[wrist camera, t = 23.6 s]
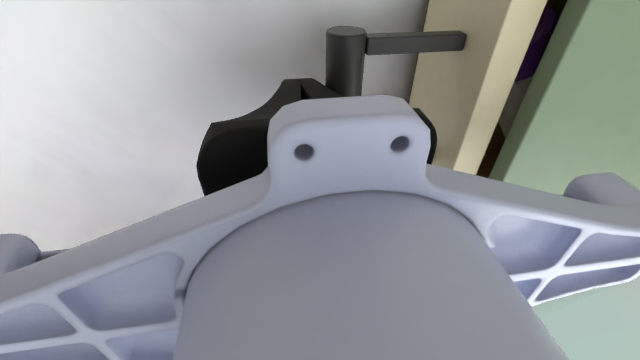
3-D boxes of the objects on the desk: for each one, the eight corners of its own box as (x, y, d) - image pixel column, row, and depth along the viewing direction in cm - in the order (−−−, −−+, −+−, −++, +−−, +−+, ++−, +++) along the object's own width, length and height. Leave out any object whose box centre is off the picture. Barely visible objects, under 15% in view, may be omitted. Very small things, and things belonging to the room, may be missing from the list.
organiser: (413, 168, 21) (467, 252, 15) (479, -107, 12) (658, -138, 7) (598, 151, 22) (707, 222, 17) (774, -103, 14) (1114, -126, 8)
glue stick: (576, 121, 16) (585, 166, 15) (511, 134, 18) (513, 175, 17) (552, -9, 12) (560, 36, 10) (470, 27, 14) (467, 69, 12)
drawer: (315, 178, 19) (330, 246, 15) (312, -89, 11) (341, -101, 7) (578, 154, 21) (655, 208, 17) (734, -86, 13) (948, -94, 9)
